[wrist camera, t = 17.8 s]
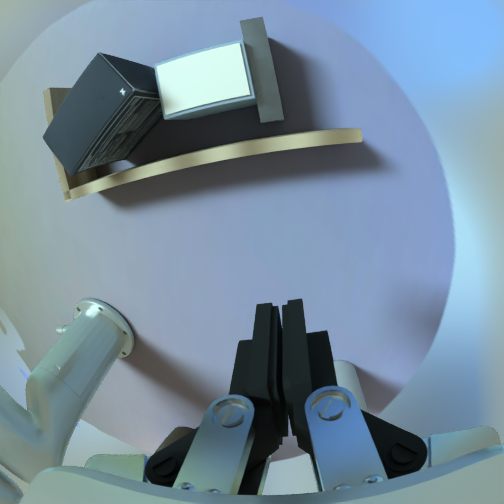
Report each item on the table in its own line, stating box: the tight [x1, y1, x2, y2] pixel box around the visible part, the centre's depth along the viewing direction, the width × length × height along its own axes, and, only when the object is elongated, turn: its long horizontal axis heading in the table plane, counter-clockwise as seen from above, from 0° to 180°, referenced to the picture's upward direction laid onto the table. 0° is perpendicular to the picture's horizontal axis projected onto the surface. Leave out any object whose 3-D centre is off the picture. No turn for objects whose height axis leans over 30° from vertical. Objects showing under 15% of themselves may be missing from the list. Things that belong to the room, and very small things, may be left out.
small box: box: [43, 52, 163, 176], centre depth 24 cm, size 11×6×10 cm, turn 131°
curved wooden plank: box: [43, 88, 363, 202], centre depth 25 cm, size 32×14×6 cm, turn 100°
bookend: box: [240, 17, 284, 123], centre depth 23 cm, size 2×10×6 cm, turn 11°
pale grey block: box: [154, 39, 257, 120], centre depth 24 cm, size 8×6×8 cm
